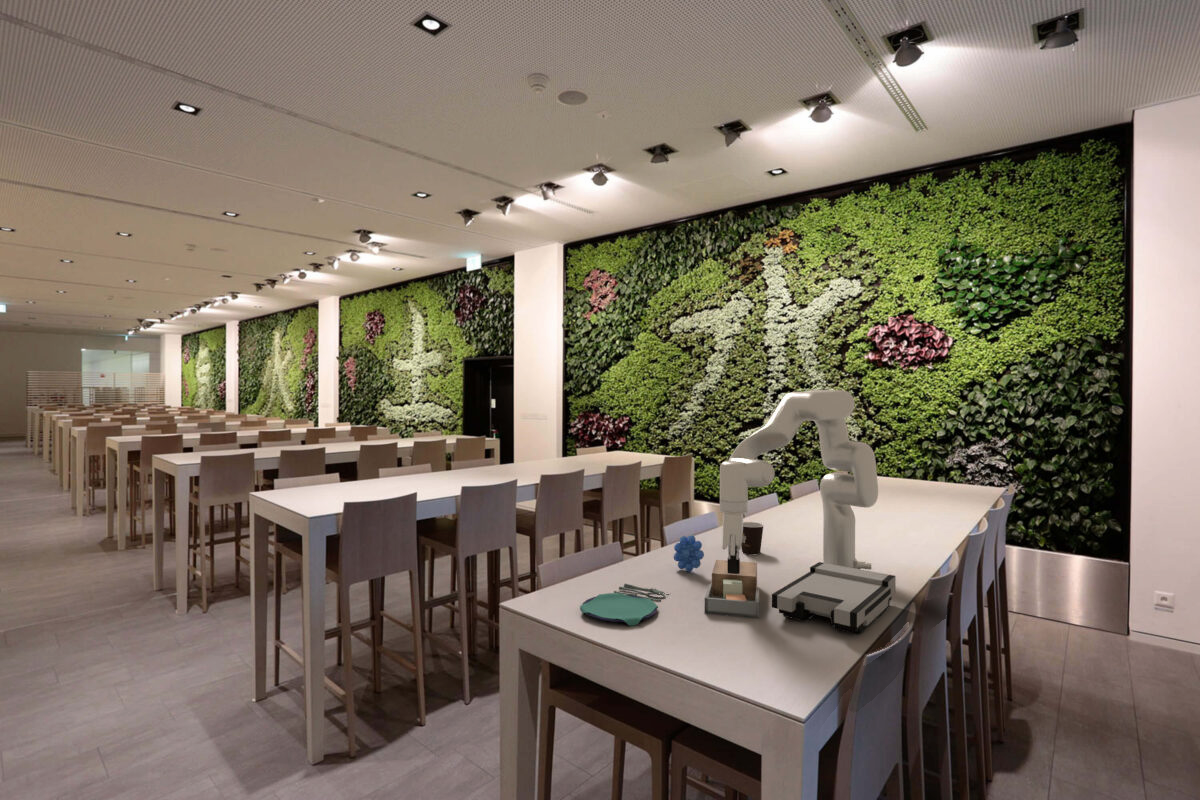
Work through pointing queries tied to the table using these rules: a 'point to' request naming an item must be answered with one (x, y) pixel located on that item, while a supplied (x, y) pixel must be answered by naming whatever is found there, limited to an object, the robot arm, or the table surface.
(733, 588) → the sage block
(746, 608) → the bin
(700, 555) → the grapes
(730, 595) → the terracotta block
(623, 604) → the cutlery set
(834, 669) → the table surface
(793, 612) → the game console
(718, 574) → the brown box
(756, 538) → the coffee mug
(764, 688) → the table surface
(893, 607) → the table surface
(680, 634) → the table surface
